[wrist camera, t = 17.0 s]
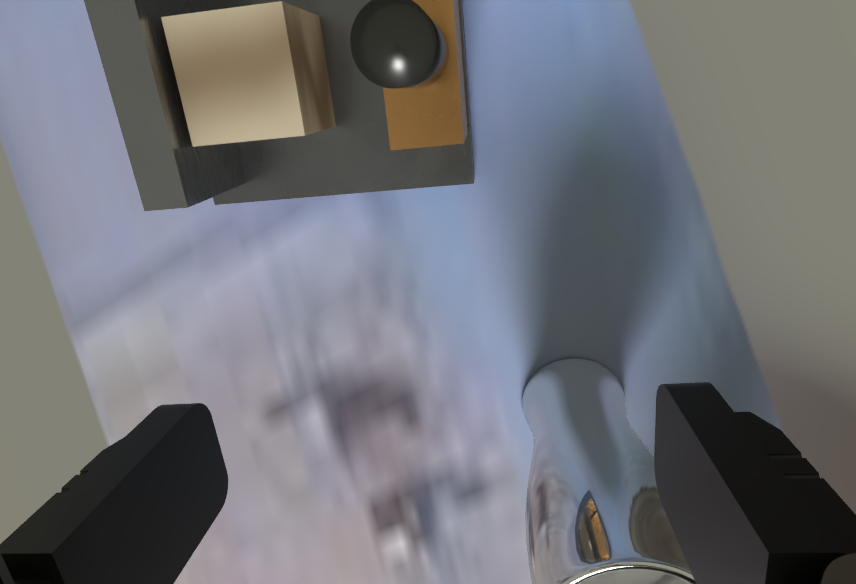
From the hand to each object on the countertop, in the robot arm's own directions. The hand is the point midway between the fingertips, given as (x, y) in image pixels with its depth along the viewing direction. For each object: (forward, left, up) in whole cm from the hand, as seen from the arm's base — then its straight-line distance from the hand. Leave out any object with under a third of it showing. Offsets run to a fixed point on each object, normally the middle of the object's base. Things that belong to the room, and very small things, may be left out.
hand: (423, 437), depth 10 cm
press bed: (+7, +6, -21) cm, 23 cm away
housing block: (+7, +9, -20) cm, 23 cm away
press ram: (+7, +1, -20) cm, 21 cm away
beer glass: (-13, -6, -21) cm, 26 cm away
